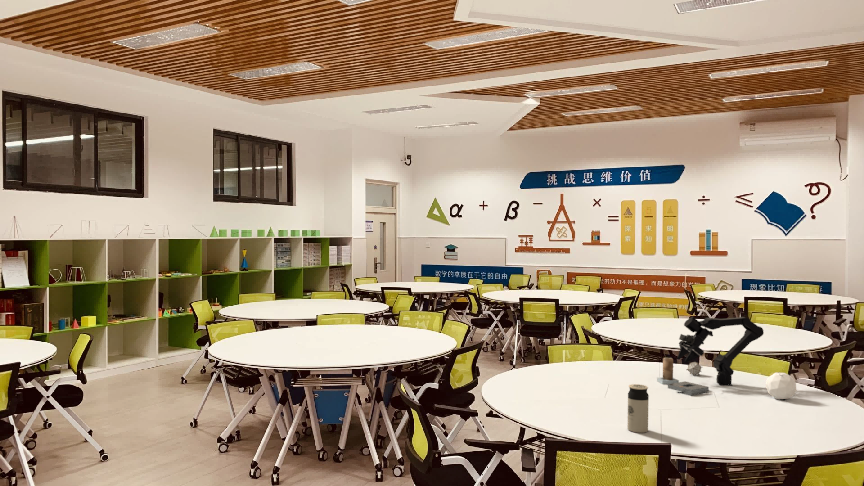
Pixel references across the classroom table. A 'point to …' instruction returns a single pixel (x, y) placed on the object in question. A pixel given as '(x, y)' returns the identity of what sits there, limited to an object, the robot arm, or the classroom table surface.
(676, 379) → the rest block
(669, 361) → the knob
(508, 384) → the classroom table surface
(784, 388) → the geodesic sphere
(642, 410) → the travel mug
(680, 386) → the hub plate
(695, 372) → the spiky grey ball
